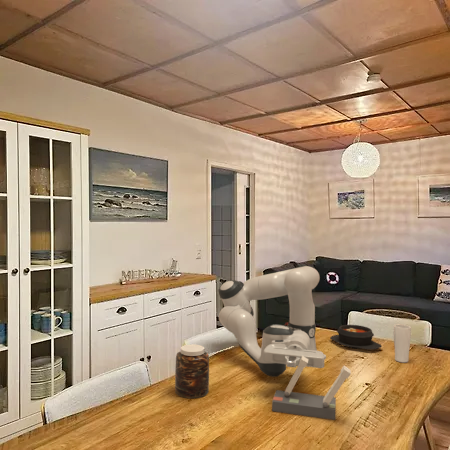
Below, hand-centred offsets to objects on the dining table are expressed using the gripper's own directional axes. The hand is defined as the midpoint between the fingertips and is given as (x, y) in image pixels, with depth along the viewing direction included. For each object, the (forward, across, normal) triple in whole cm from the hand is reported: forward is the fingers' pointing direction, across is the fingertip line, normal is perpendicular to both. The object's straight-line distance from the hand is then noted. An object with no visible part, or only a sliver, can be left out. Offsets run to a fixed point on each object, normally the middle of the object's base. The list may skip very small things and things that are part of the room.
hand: (291, 364), depth 128 cm
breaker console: (0, -4, -13) cm, 14 cm away
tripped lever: (-1, +1, -9) cm, 10 cm away
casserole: (-76, -22, -14) cm, 80 cm away
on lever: (+3, -11, -9) cm, 15 cm away
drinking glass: (-59, -40, -14) cm, 73 cm away
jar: (-1, +34, -14) cm, 37 cm away
